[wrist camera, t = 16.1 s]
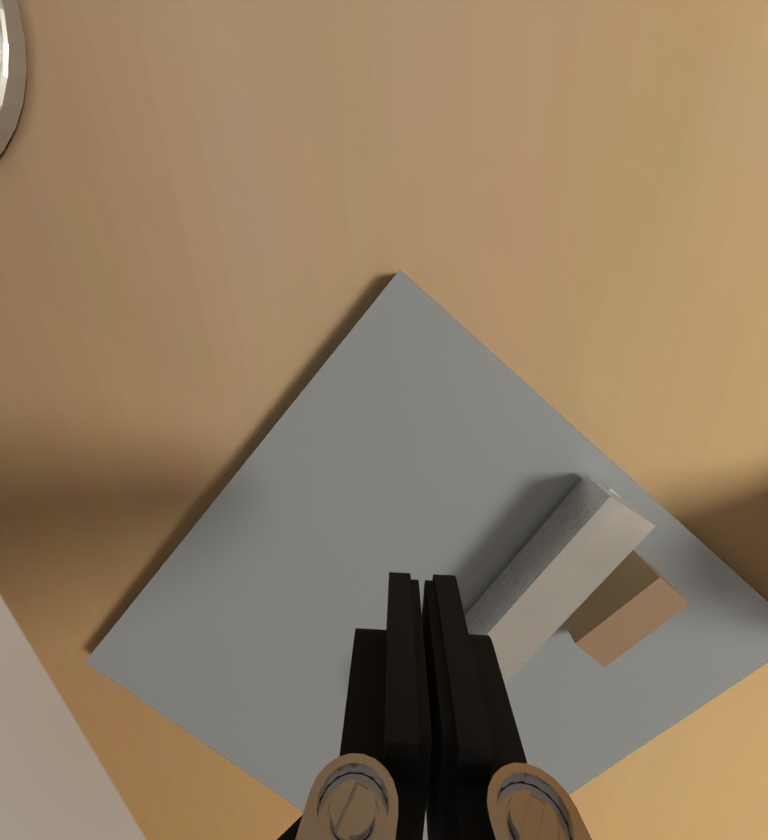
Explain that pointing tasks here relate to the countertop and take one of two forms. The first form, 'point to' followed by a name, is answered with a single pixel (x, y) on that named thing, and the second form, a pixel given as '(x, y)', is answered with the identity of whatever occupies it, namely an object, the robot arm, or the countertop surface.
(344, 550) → the latch plate
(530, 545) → the swing bar
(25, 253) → the countertop surface
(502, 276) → the countertop surface
